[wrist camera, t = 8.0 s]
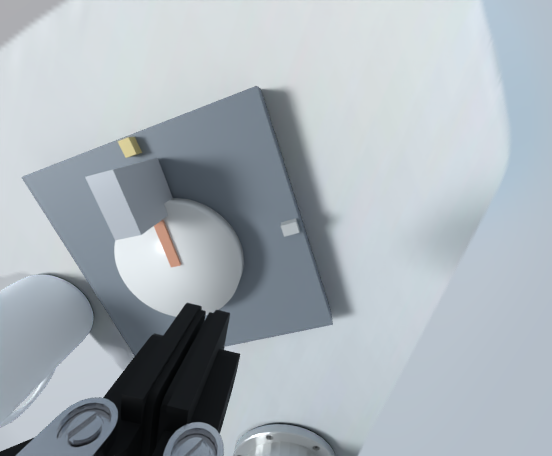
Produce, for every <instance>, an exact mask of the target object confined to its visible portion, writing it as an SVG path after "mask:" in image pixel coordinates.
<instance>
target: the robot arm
mask: <svg viewBox="0 0 552 456" xmlns="http://www.w3.org/2000/svg"><path fill="white" fill-rule="evenodd" d="M205 315H206V311H203V310H202V306H200V305H195V304H191V303H186V304H185V305H184V307H183V308H182V310H181V311H180V313H179V314H178V315H177V317H176V318H175V320H174V321H173V322H172V324H171V325H170V327H169V328H168V330H167V331H166V332H165V334H164V335H159V334H155V333H154V334H152V335H151V336H150V338H149V339H148V340H147V341H146V343H145V344H144V345H143V347H142V348H141V349H140V351H139V352H138V353H137V354H136V356H135V357H134V358H133V360H132V361H131V362H130V364H129V365H128V366H127V367H126V369H125V370H124V371H123V373H122V374H121V375H120V377H119V378H118V379H117V381H116V382H115V383H114V384H113V386H112V387H111V388H110V390H109V391H108V392H107V394H106V395H105V396H104V397H103V398H100V397H99V398H89V399H85V400H82V401H79V402H77V403H75V404H73V405H71V406H70V407H68V408H67V409H66V410H65V411H63V412H62V413H61V414H60V415H59V416H57V417H56V418H55V419H54V420H53V421H52V422H51V423H50V424H49V425H48V426H47V427H46V428H45V429H44V430H42V431H41V432H40V433H39V434H38V435H37V436H36V437H35V438H32V439H30V440H27V441H25V442H23V443H20V444H18V445H15V446H13V447H10V448H8V449H6V450H3V451H1V452H0V456H224V445H223V441H222V438H221V435H220V431H221V428H222V424H223V421H224V417H225V413H226V410H227V406H228V403H229V399H230V396H231V392H232V388H233V384H234V380H235V376H236V372H237V367H238V363H239V358H240V354H238V353H234V352H230V351H226V350H224V345H225V340H226V335H227V329H228V324H229V319H230V313H229V312H225V311H221V310H215V312H214V313H212V312H209V314H208V315H207V317H206V319H205ZM234 456H335V454H334V451H333V449H332V448H331V447H330V445H329V444H328V443H327V442H326V441H325V440H324V439H323V438H321V437H320V436H318V435H317V434H315V433H313V432H311V431H309V430H307V429H304V428H301V427H297V426H292V425H286V424H272V425H265V426H261V427H257V428H255V429H253V430H250V431H249V432H247V433H246V434H244V435H243V436H242V437H241V438H240V439H239V440H238V442H237V444H236V447H235V451H234Z"/></svg>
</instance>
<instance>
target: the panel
mask: <svg viewBox="0 0 552 456" xmlns="http://www.w3.org/2000/svg"><path fill="white" fill-rule="evenodd" d="M155 158H158V160H159V163H160V166H161V168H162V171H163V173H164V176H165V179H166V181H167V184H168V187H169V189H170V192H171V195H172V197H173V198H182V199H189V200H193V201H196V202H199V203H202V204H204V205H206V206H208V207H210V208H211V209H213V210H214V211H216V212H217V213H219V214H220V215H221V216H222V217H223V218H224V219H225V220H226V221H227V222H228V223H229V224H230V225H231V227H232V228H233V230H234V231H235V233H236V234H237V236H238V238H239V241H240V243H241V246H242V250H243V256H244V267H243V272H242V276H241V278H240V281H239V284H238V286H237V289H236V291H235V293H234V295H233V296H232V298H231V299H230V300H229V301H228V302H227V303H226V304H225V305H224V306H223V307H222V308H220V309H219V310H221V311H225V312H229V313H230V319H229V324H228V329H227V335H226V340H225V345H224V347H225V346H230V345H235V344H240V343H244V342H249V341H254V340H259V339H264V338H269V337H274V336H279V335H284V334H289V333H294V332H299V331H304V330H308V329H313V328H318V327H323V326H328V325H333V323H332V316H331V310H330V307H329V304H328V300H327V297H326V294H325V291H324V288H323V285H322V281H321V278H320V275H319V272H318V269H317V266H316V262H315V259H314V256H313V253H312V250H311V247H310V243H309V240H308V237H307V234H306V231H305V228H304V224H303V221H302V218H301V215H300V212H299V209H298V205H297V202H296V199H295V196H294V193H293V190H292V186H291V183H290V180H289V177H288V174H287V171H286V167H285V164H284V161H283V158H282V155H281V152H280V148H279V145H278V142H277V139H276V136H275V133H274V129H273V126H272V123H271V120H270V117H269V114H268V110H267V107H266V104H265V101H264V98H263V94H262V91H261V89H260V88H259V87H257V86H255V87H252V88H250V89H247V90H245V91H242V92H240V93H237V94H234V95H232V96H229V97H227V98H224V99H222V100H219V101H216V102H214V103H211V104H209V105H206V106H203V107H201V108H198V109H196V110H193V111H191V112H188V113H185V114H183V115H180V116H178V117H175V118H173V119H170V120H167V121H165V122H162V123H160V124H157V125H155V126H152V127H149V128H147V129H144V130H142V131H139V132H136V133H134V134H131V135H129V136H126V137H124V138H121V139H118V140H116V141H113V142H111V143H108V144H106V145H103V146H100V147H98V148H95V149H93V150H90V151H88V152H85V153H82V154H80V155H77V156H75V157H72V158H69V159H67V160H64V161H62V162H59V163H57V164H54V165H51V166H49V167H46V168H44V169H41V170H39V171H36V172H33V173H31V174H28V175H26V176H23V177H22V179H23V180H24V182H25V184H26V185H27V187H28V188H29V190H30V191H31V193H32V195H33V196H34V198H35V199H36V201H37V202H38V204H39V206H40V207H41V209H42V210H43V212H44V213H45V215H46V217H47V218H48V220H49V221H50V223H51V224H52V226H53V228H54V229H55V231H56V232H57V234H58V236H59V237H60V239H61V240H62V242H63V243H64V245H65V247H66V248H67V250H68V251H69V253H70V254H71V256H72V258H73V259H74V261H75V262H76V264H77V265H78V267H79V269H80V270H81V272H82V273H83V275H84V276H85V278H86V280H87V281H88V283H89V284H90V286H91V287H92V289H93V291H94V292H95V294H96V295H97V297H98V298H99V300H100V302H101V303H102V305H103V306H104V308H105V309H106V311H107V313H108V314H109V316H110V317H111V319H112V320H113V322H114V324H115V325H116V327H117V328H118V330H119V332H120V333H121V335H122V336H123V338H124V339H125V341H126V343H127V344H128V346H129V347H130V349H131V350H132V352H133V354H134V355H135V356H136V354H137V353H138V352H139V351H140V349H141V348H142V347H143V345H144V344H145V343H146V341H147V340H148V339H149V338H150V336H151V335H152V334H154V333H155V334H159V335H164V334H165V332H166V331H167V330H168V328H169V327H170V325H171V324H172V322H173V321H174V320H175V318H176V317H175V316H171V315H167V314H164V313H161V312H159V311H157V310H155V309H153V308H151V307H149V306H148V305H146V304H145V303H143V302H142V301H141V300H139V299H138V298H137V297H136V296H135V295H134V294H133V293H132V292H131V291H130V290H129V288H128V287H127V286H126V284H125V283H124V281H123V279H122V278H121V276H120V274H119V271H118V269H117V265H116V262H115V255H114V246H115V239H114V237H113V235H112V233H111V230H110V228H109V226H108V224H107V222H106V220H105V218H104V216H103V214H102V212H101V210H100V207H99V205H98V203H97V201H96V199H95V197H94V195H93V193H92V191H91V189H90V186H89V184H88V182H87V180H86V178H85V177H87V176H90V175H94V174H98V173H102V172H105V171H109V170H113V169H117V168H121V167H124V166H128V165H132V164H136V163H140V162H143V161H147V160H151V159H155ZM213 313H214V312H213ZM206 317H207V315H205V319H206Z"/></svg>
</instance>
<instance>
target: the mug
mask: <svg viewBox="0 0 552 456" xmlns="http://www.w3.org/2000/svg"><path fill="white" fill-rule="evenodd" d="M93 318H94V317H93V311H92V308H91V305H90V303H89V301H88V300H87V298H86V297H85V295H84V294H83V293H82V292H81V291H80V290H79V289H78V288H76V287H75V286H74V285H72V284H71V283H69V282H67V281H66V280H63V279H61V278H58V277H55V276H51V275H32V276H29V277H25V278H23V279H21V280H19V281H17V282H15V283H13V284H11V285H9V286H8V287H6V288H4V289H2V290H0V427H3V426H5V425H7V424H9V423H11V422H12V421H14V420H15V419H16V418H18V417H19V416H20V415H21V414H22V413H23V412H24V411H25V410H26V409H27V408H28V407H29V406H30V405H31V404H32V403H33V402H34V401H35V399H36V398H37V397H38V396H39V394H40V393H41V392H42V391H43V389H44V388H45V387H46V385H47V384H48V382H49V381H50V379H51V377H52V375H53V373H54V371H55V369H56V367H57V366H58V365H59V364H60V363H61V362H62V361H63V360H64V359H65V358H66V357H67V356H68V355H69V354H70V353H71V352H72V351H73V350H74V349H75V348H76V347H77V346H78V345H79V344H80V343H81V342H82V341H83V340H84V339H85V337H86V336H87V335H88V333H89V332H90V330H91V328H92V325H93ZM36 387H38V389H37V390H36V392H35V394H34V395H33V396H32V398H31V399H30V400H29V401H28V402H27V403H26V404H25V405H24V406H22V407H21V408H19V409H18V410H16V411H14V410H15V409H16V408H17V407H18V406H19V405H20V403H22V402H23V401H24V400H25V399H26V398H27V397H28V396H29V395H30V393H32V392H33V390H35V389H36ZM13 411H14V412H13Z"/></svg>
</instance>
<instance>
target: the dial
mask: <svg viewBox="0 0 552 456" xmlns="http://www.w3.org/2000/svg"><path fill="white" fill-rule="evenodd" d="M85 178H86V180H87V182H88V184H89V186H90V189H91V191H92V193H93V195H94V197H95V199H96V201H97V203H98V205H99V207H100V210H101V212H102V214H103V216H104V218H105V220H106V222H107V224H108V226H109V228H110V230H111V233H112V235H113V237H114V239H115V246H114V255H115V262H116V265H117V269H118V271H119V274H120V276H121V278H122V279H123V281H124V283H125V284H126V286H127V287H128V288H129V290H130V291H131V292H132V293H133V294H134V295H135V296H136V297H137V298H138V299H139V300H141V301H142V302H143V303H145V304H146V305H148V306H149V307H151V308H153V309H155V310H157V311H159V312H161V313H164V314H167V315H171V316H175V317H177V315H178V314H179V313H180V311H181V310H182V308H183V307H184V305H185V304H186V303H191V304H195V305H200V306H202V310H203V311H206V315H208V314H209V312H212V313H213V312H215V310H219V309H220V308H222V307H223V306H224V305H225V304H226V303H227V302H228V301H229V300H230V299H231V298H232V296H233V295H234V293H235V291H236V289H237V286H238V284H239V281H240V278H241V276H242V272H243V267H244V256H243V250H242V246H241V243H240V241H239V238H238V236H237V234H236V233H235V231H234V230H233V228H232V227H231V225H230V224H229V223H228V222H227V221H226V220H225V219H224V218H223V217H222V216H221V215H220V214H219V213H217V212H216V211H214V210H213V209H211V208H210V207H208V206H206V205H204V204H202V203H199V202H196V201H193V200H189V199H182V198H173V197H172V195H171V192H170V189H169V187H168V184H167V181H166V179H165V176H164V173H163V171H162V168H161V166H160V163H159V160H158V158H155V159H151V160H147V161H143V162H140V163H136V164H132V165H128V166H124V167H121V168H117V169H113V170H109V171H105V172H102V173H98V174H94V175H90V176H87V177H85Z"/></svg>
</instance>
